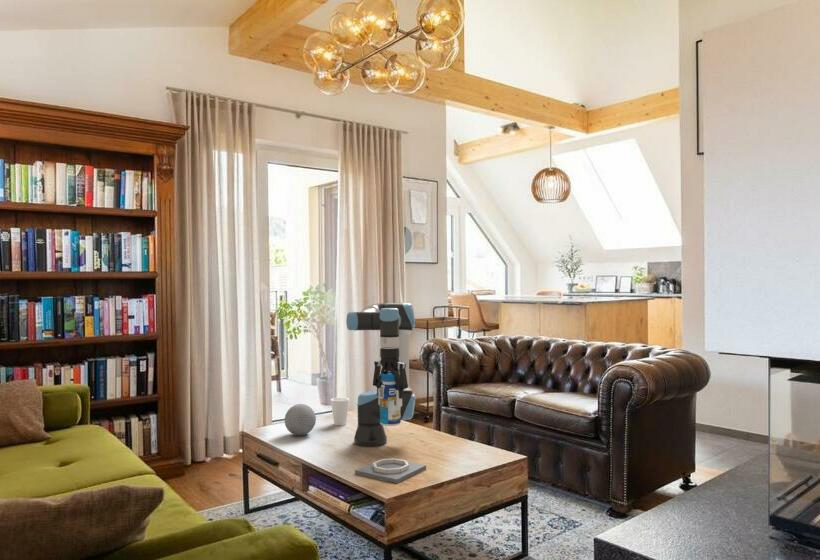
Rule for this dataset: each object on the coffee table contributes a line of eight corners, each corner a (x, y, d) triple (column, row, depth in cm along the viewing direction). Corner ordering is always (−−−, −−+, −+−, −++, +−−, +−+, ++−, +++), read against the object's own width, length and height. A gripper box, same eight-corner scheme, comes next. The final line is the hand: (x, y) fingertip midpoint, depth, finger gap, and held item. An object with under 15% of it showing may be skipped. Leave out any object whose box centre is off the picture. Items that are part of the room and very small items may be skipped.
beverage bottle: (382, 421, 242) (381, 371, 242) (402, 421, 241) (402, 371, 241) (377, 426, 234) (376, 374, 234) (399, 426, 233) (398, 374, 233)
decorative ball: (319, 431, 301) (319, 401, 301) (310, 439, 286) (310, 407, 286) (290, 430, 303) (290, 400, 303) (280, 438, 288) (279, 407, 288)
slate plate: (354, 474, 235) (354, 466, 235) (385, 460, 252) (385, 453, 252) (396, 483, 224) (396, 475, 224) (426, 469, 240) (426, 461, 240)
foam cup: (328, 426, 312) (328, 400, 312) (334, 421, 321) (333, 397, 321) (346, 426, 311) (346, 401, 310) (351, 422, 320) (351, 397, 320)
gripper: (362, 346, 240) (363, 404, 240) (406, 350, 229) (406, 410, 229) (374, 345, 247) (375, 400, 247) (417, 348, 235) (417, 406, 235)
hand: (390, 405), depth 238 cm, fingers closed on beverage bottle, 8 cm apart
